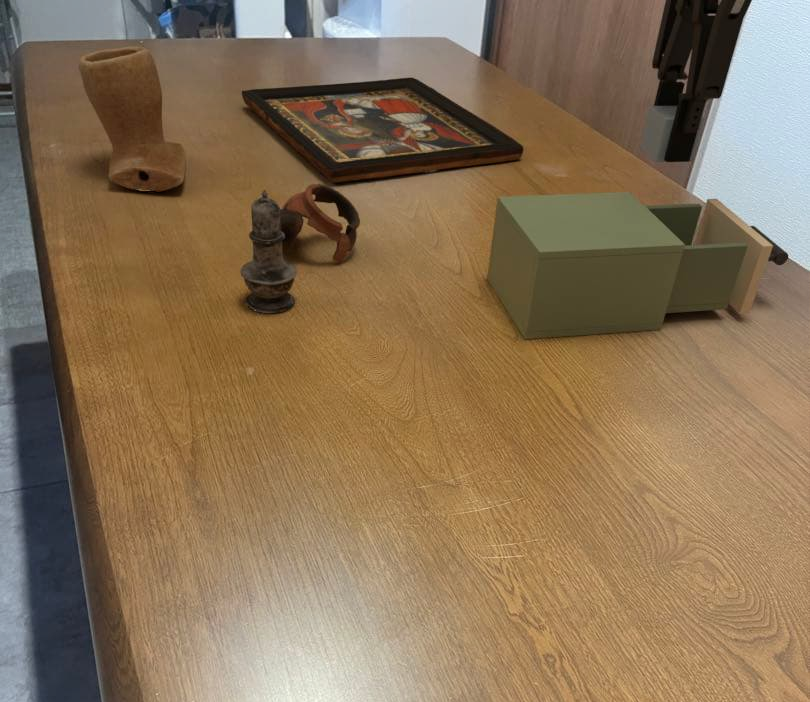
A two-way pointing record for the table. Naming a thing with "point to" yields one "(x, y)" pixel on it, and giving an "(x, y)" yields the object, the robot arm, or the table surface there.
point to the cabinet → (582, 264)
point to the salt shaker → (268, 261)
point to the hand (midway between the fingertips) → (666, 151)
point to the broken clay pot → (319, 218)
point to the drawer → (716, 257)
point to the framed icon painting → (379, 128)
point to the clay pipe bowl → (132, 118)
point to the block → (661, 132)
